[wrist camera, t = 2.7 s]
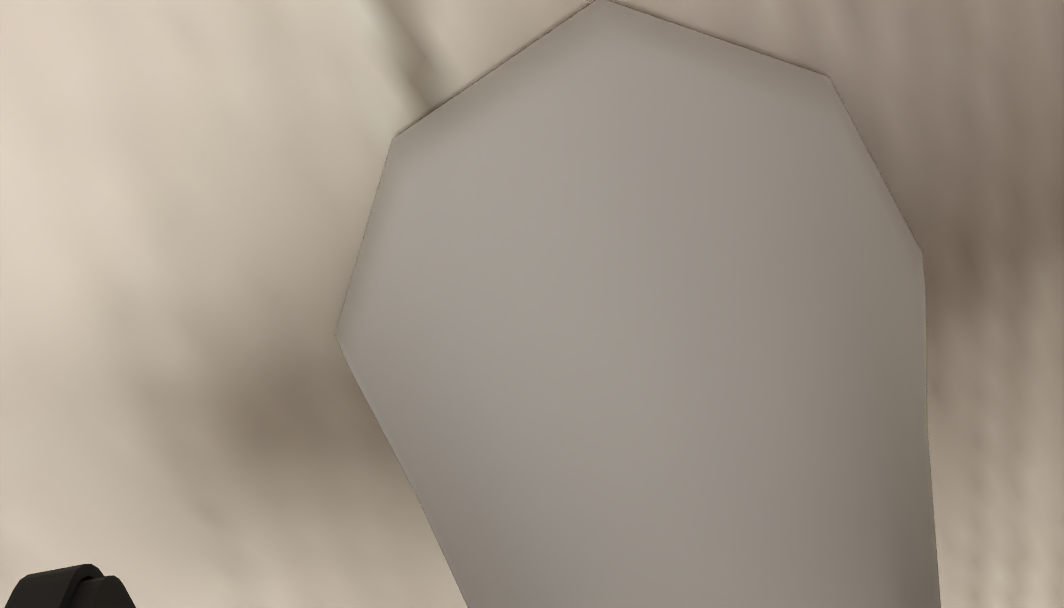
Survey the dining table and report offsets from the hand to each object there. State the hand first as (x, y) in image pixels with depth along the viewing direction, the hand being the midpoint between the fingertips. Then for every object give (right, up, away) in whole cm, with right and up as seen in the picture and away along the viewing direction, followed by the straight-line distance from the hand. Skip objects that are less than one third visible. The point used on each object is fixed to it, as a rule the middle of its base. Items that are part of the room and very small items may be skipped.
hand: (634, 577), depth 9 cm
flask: (0, +3, +4) cm, 5 cm away
